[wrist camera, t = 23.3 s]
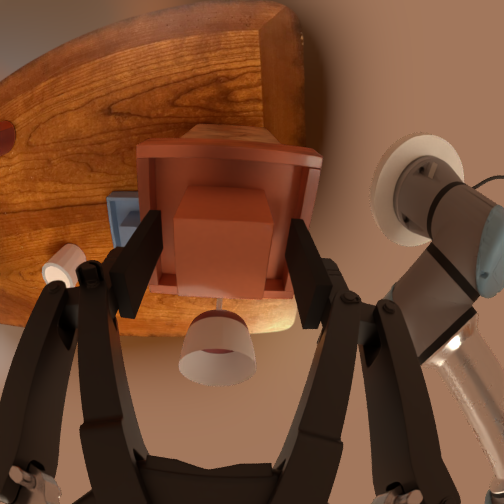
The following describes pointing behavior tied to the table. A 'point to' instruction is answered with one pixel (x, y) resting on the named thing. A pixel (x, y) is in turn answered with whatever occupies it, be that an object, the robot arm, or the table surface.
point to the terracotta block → (222, 242)
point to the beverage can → (6, 137)
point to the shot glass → (64, 265)
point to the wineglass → (218, 349)
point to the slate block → (129, 226)
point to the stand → (228, 175)
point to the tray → (120, 211)
